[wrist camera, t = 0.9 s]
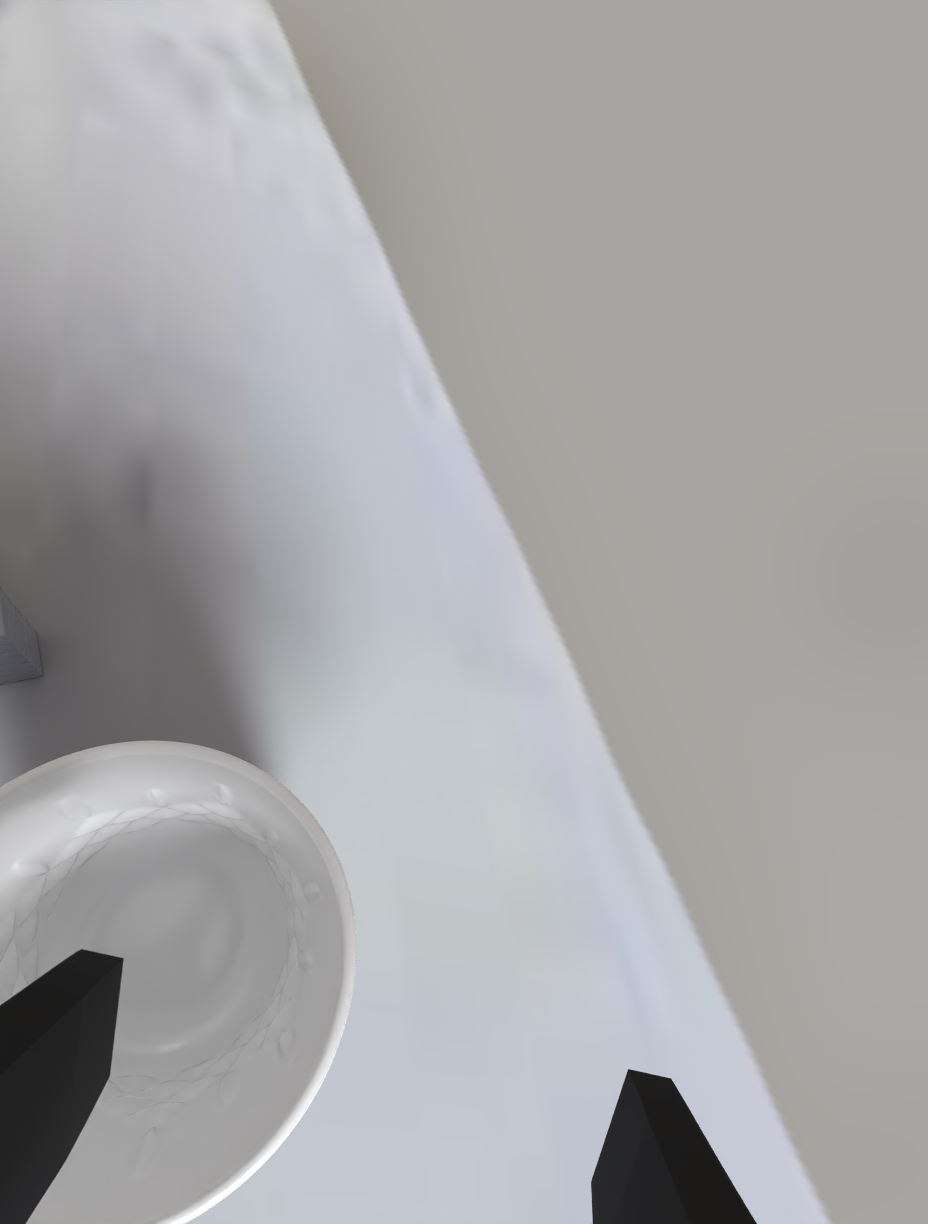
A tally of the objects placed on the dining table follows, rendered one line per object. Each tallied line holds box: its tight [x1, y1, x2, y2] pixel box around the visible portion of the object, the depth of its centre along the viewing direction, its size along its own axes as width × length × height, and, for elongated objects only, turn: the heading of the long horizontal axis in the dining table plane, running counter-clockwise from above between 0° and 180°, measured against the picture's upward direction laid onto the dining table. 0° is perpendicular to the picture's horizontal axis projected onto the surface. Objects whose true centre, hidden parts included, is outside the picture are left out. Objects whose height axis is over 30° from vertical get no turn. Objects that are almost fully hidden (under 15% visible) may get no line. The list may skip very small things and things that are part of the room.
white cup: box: [0, 740, 356, 1224], centre depth 17 cm, size 8×8×10 cm
